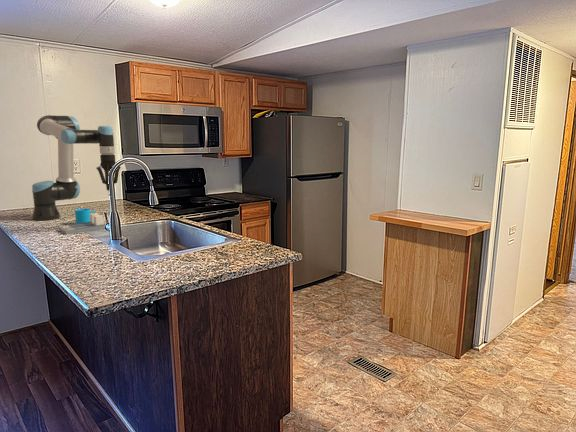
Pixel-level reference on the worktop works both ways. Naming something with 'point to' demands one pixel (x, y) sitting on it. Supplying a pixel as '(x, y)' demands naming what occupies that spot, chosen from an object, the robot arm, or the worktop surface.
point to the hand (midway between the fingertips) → (111, 195)
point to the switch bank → (80, 228)
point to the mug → (83, 215)
